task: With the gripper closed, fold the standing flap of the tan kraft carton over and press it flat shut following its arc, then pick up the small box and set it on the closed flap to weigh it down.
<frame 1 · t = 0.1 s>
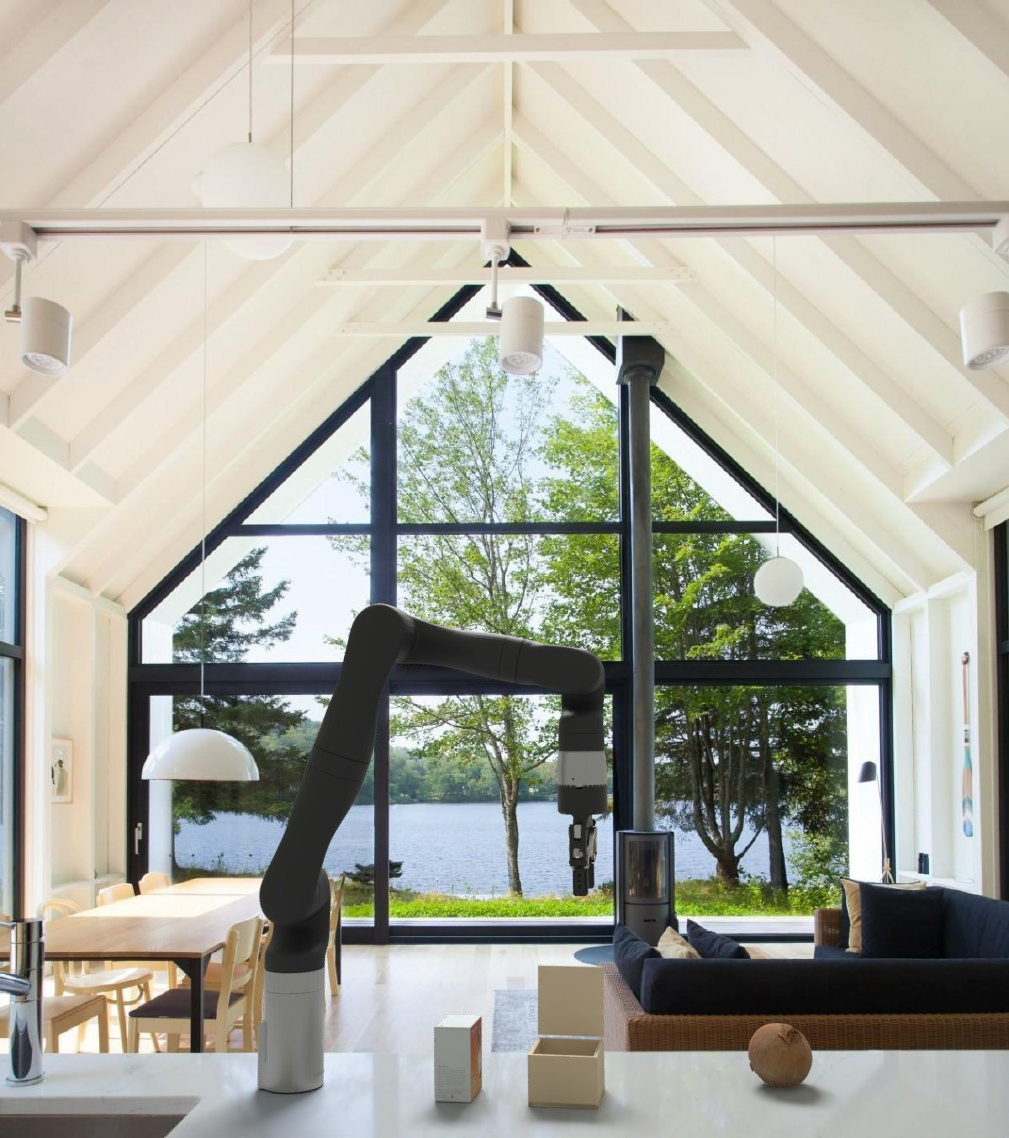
hand: (584, 892, 178), 29 cm above the counter, tool pointing down, fingers open, 8 cm apart
onion: (781, 1086, 179), on the counter
lid: (570, 1000, 181), point 12 cm above the counter, hinge at 95.0°
carton: (567, 1097, 174), on the counter
small box: (458, 1096, 176), on the counter
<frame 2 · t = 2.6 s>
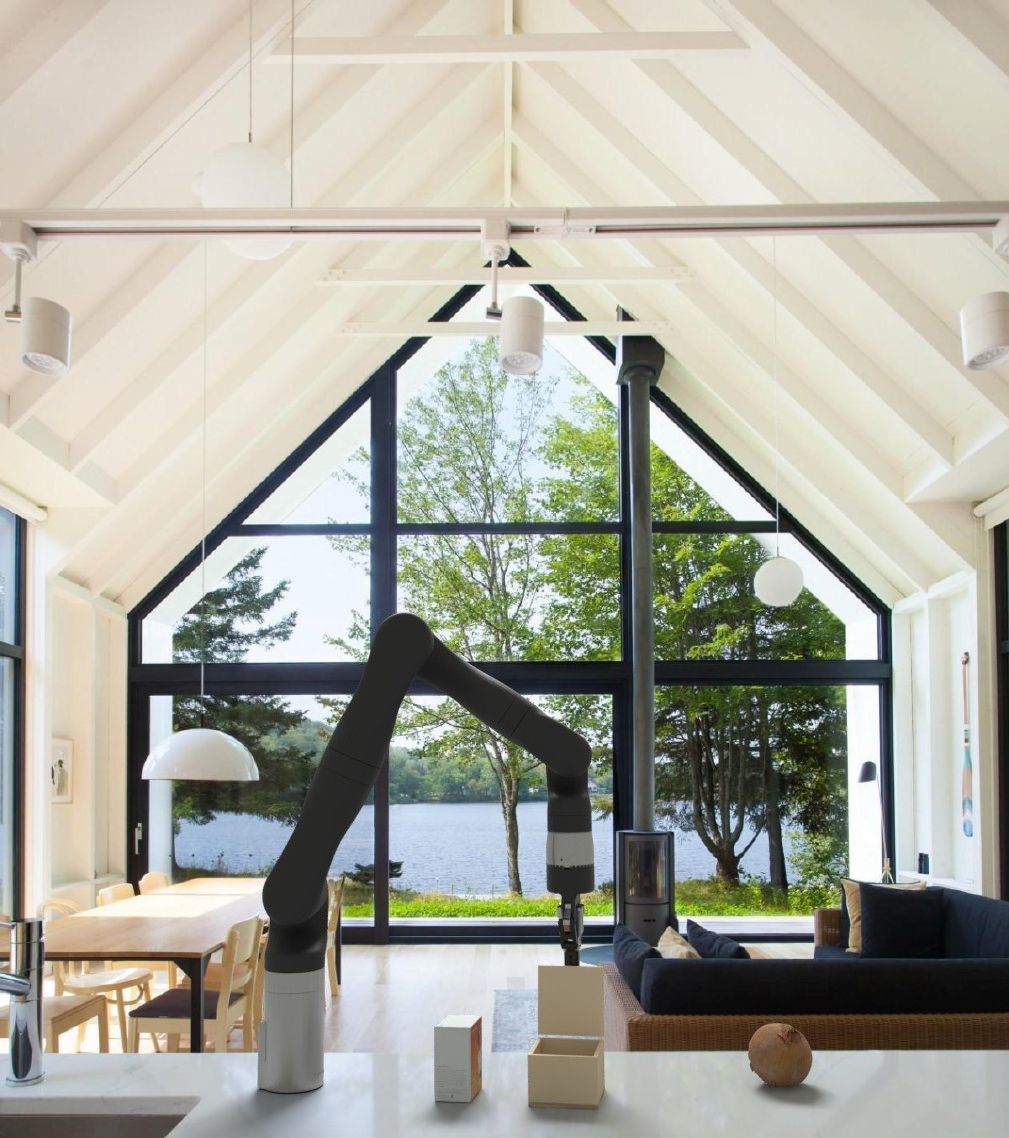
hand: (572, 975, 184), 16 cm above the counter, tool pointing down, fingers closed
lid: (570, 1000, 181), point 12 cm above the counter, hinge at 95.0°, touching gripper
everything else where it was.
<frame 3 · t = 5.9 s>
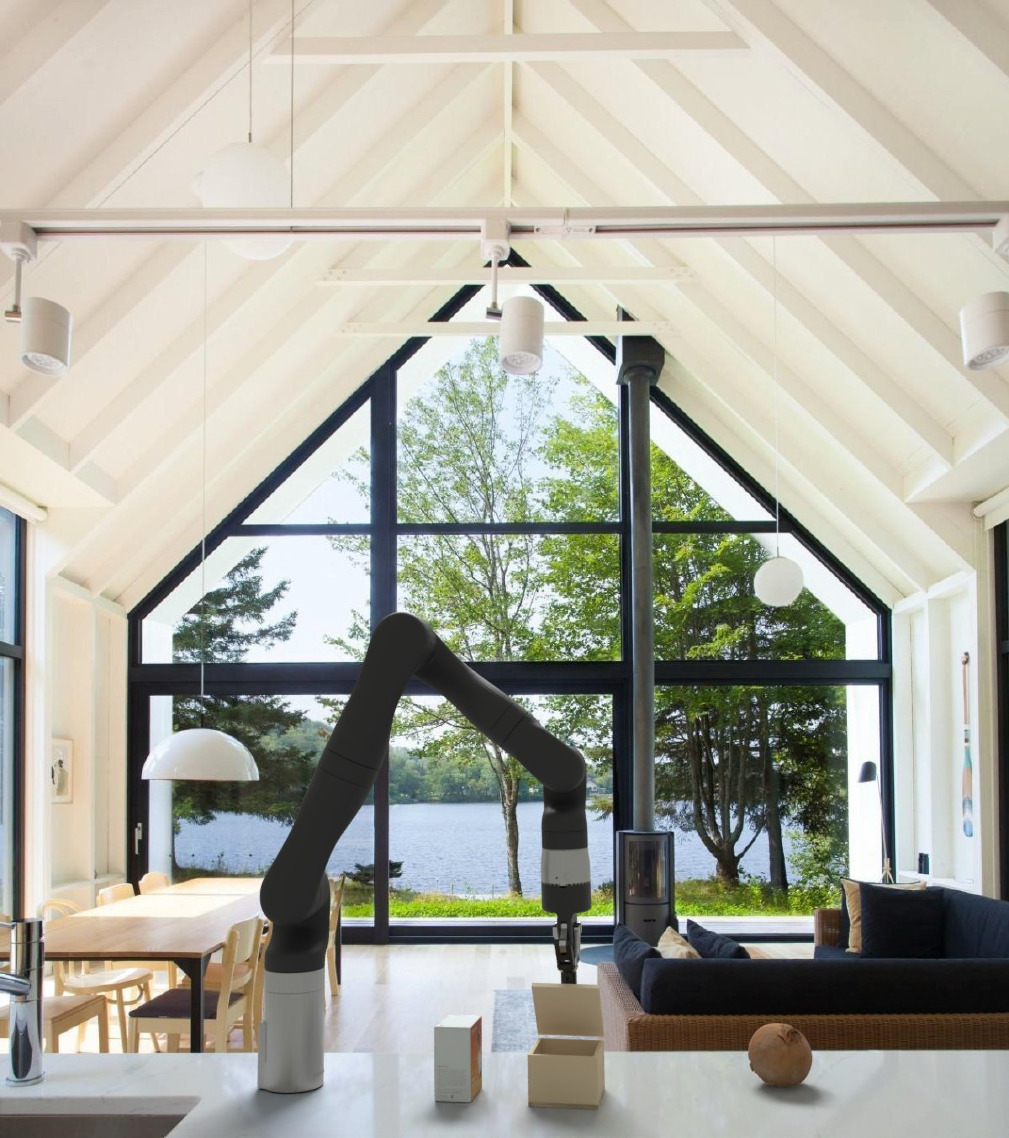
hand: (569, 997, 178), 14 cm above the counter, tool pointing down, fingers closed
lid: (568, 1010, 178), point 12 cm above the counter, hinge at 54.9°, touching gripper
everything else where it was.
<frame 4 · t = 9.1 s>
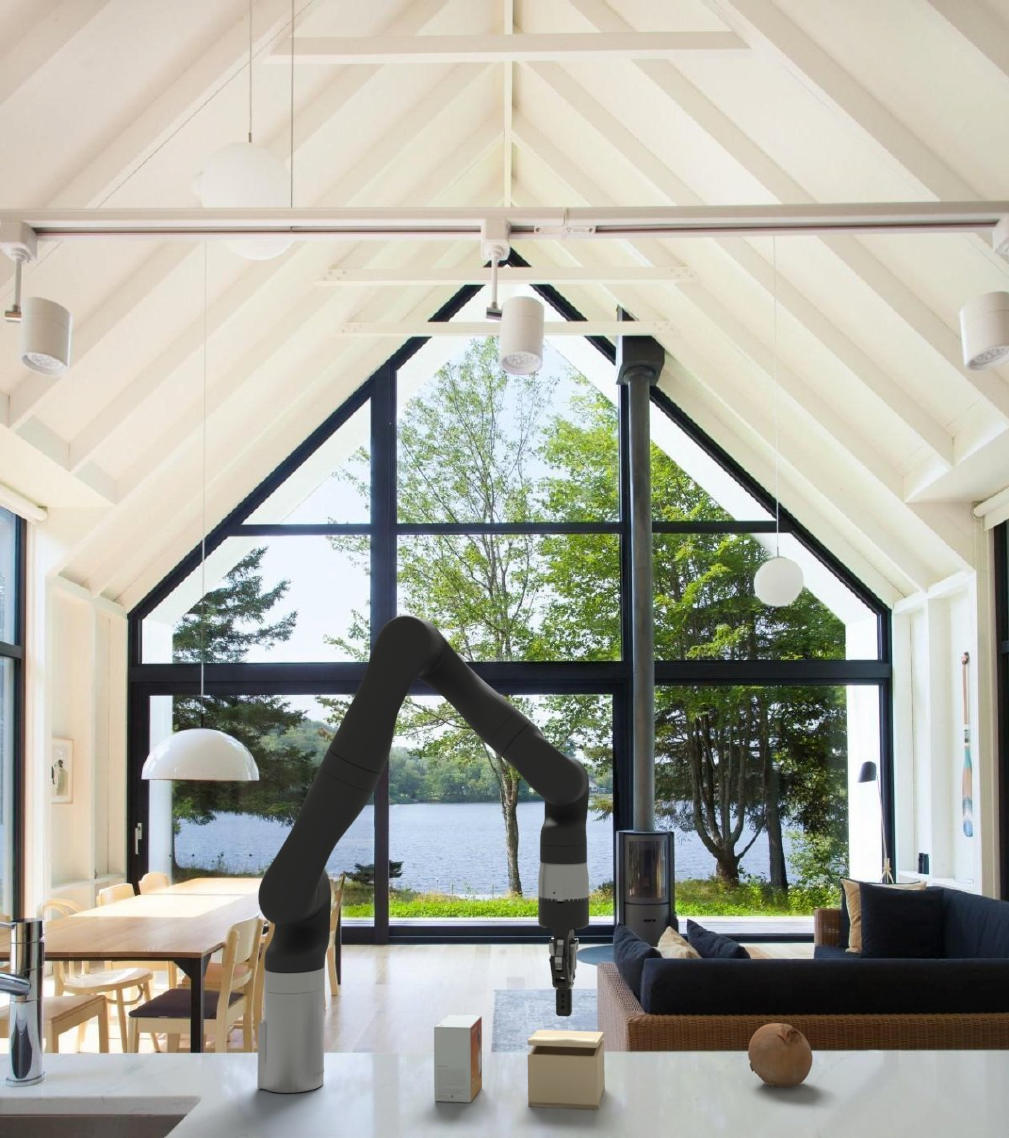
hand: (564, 1015, 174), 12 cm above the counter, tool pointing down, fingers closed
lid: (566, 1038, 175), point 8 cm above the counter, hinge at 5.2°
everything else where it was.
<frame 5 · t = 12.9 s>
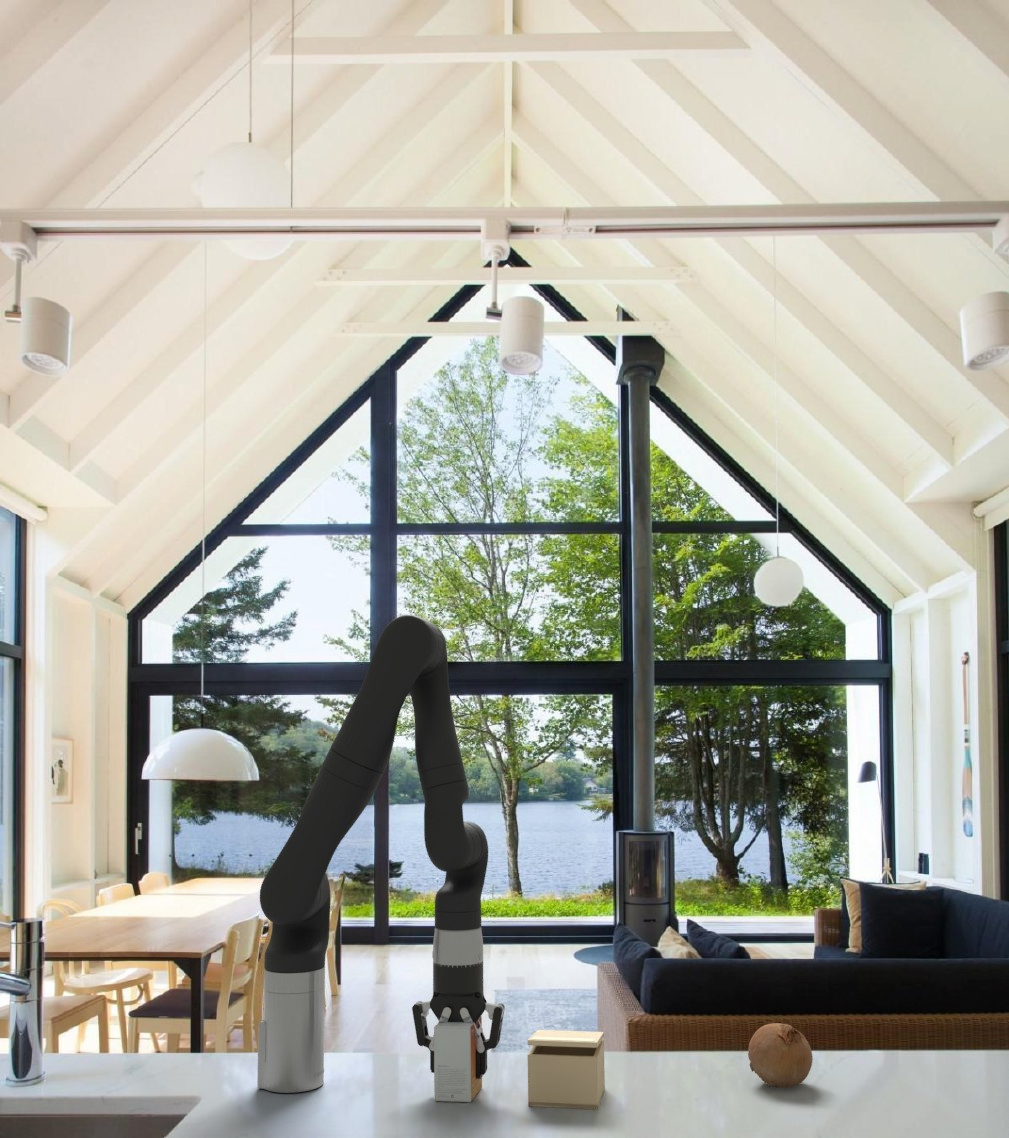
hand: (458, 1076, 176), 3 cm above the counter, tool pointing down, fingers closed on small box, 5 cm apart
small box: (458, 1096, 176), on the counter, touching gripper
everything else where it was.
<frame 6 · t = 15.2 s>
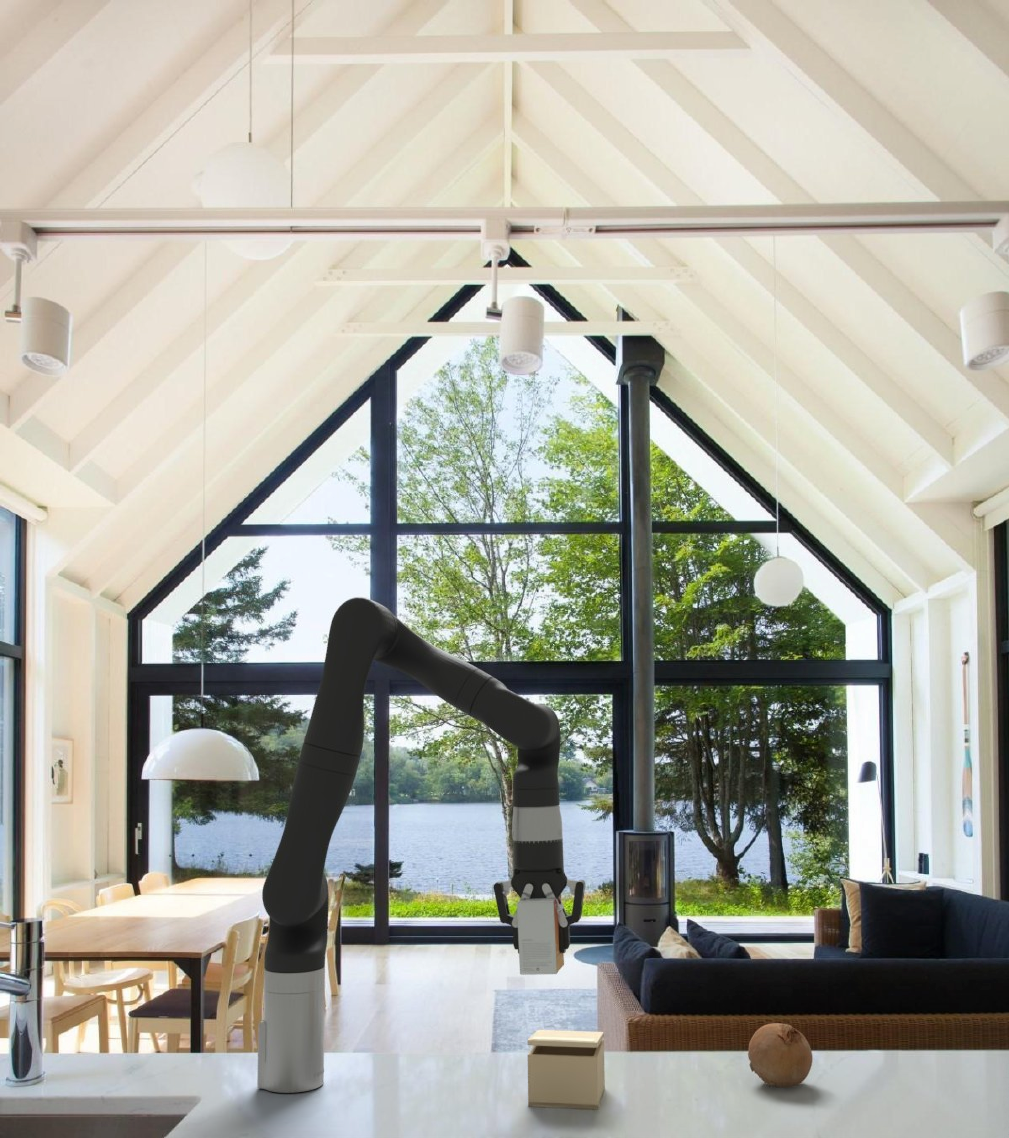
hand: (541, 952, 177), 20 cm above the counter, tool pointing down, fingers closed on small box, 5 cm apart
small box: (542, 971, 177), point 18 cm above the counter, touching gripper
everything else where it was.
when the fingers open (12 cm above the counter, at t = 17.4 s): small box stays where it is, resting on lid.
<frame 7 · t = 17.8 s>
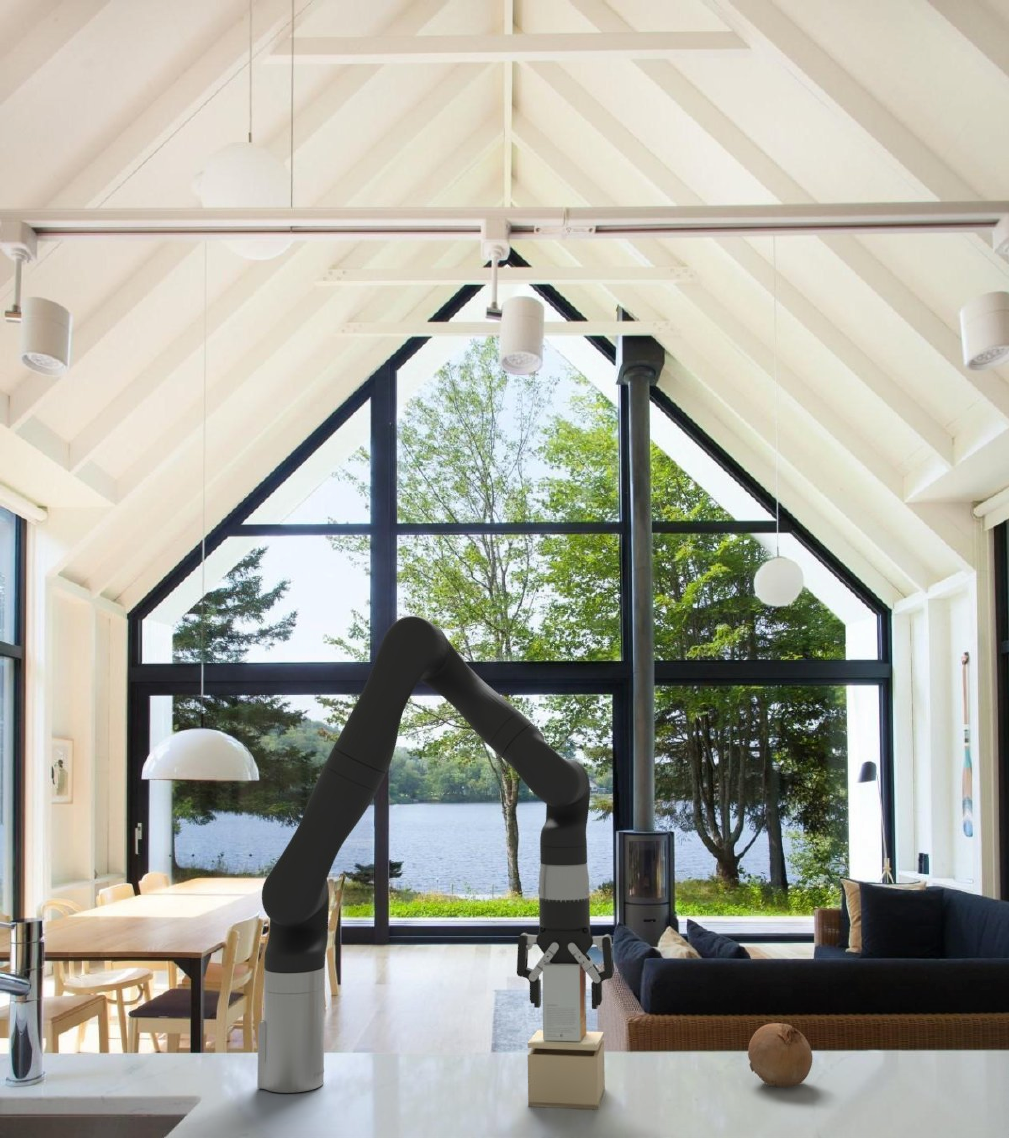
hand: (565, 1007, 176), 13 cm above the counter, tool pointing down, fingers open, 8 cm apart
lid: (566, 1039, 175), point 8 cm above the counter, hinge at 3.1°, touching small box
small box: (565, 1038, 175), point 8 cm above the counter, touching lid
everything else where it was.
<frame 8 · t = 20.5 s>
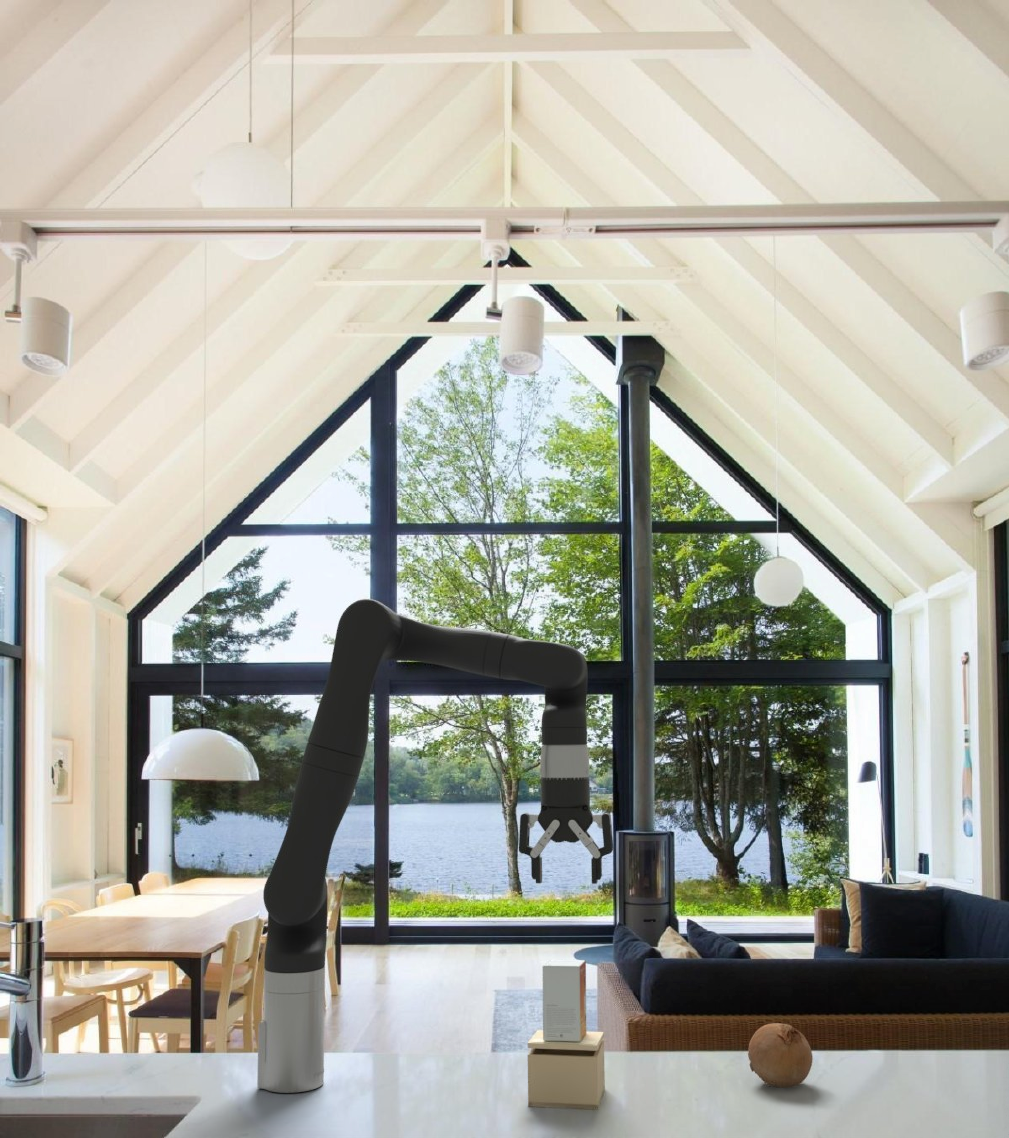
hand: (566, 883, 181), 30 cm above the counter, tool pointing down, fingers open, 8 cm apart
nothing on the counter moved.
at the end: lid at +3° (first picture: +95°); small box inside the target area on the carton (0.2 cm from its centre), point 8.2 cm above the carton's base; small box tilted 4° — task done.
